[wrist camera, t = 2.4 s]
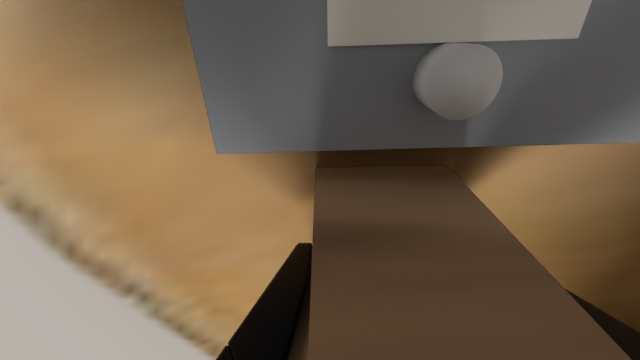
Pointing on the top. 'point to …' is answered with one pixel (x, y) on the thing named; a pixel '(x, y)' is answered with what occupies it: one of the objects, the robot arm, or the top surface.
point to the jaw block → (432, 276)
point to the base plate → (416, 73)
